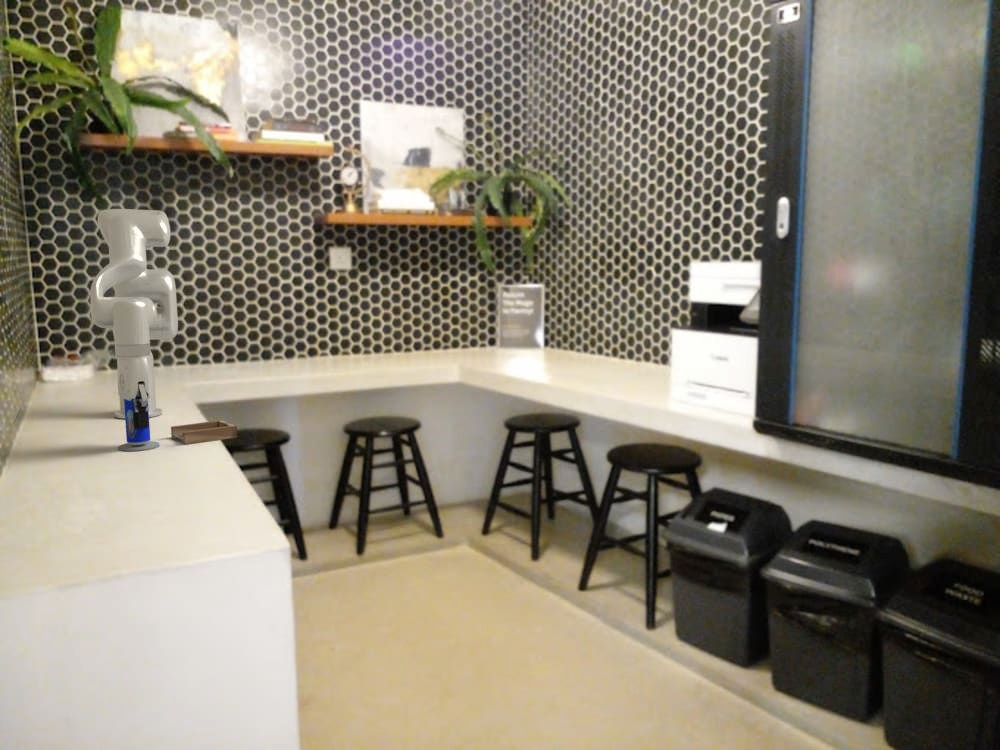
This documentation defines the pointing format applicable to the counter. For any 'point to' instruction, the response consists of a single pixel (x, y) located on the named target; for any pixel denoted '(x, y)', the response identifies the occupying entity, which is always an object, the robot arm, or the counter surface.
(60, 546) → the counter surface
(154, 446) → the pad
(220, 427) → the brown hollow open frame
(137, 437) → the beverage can
